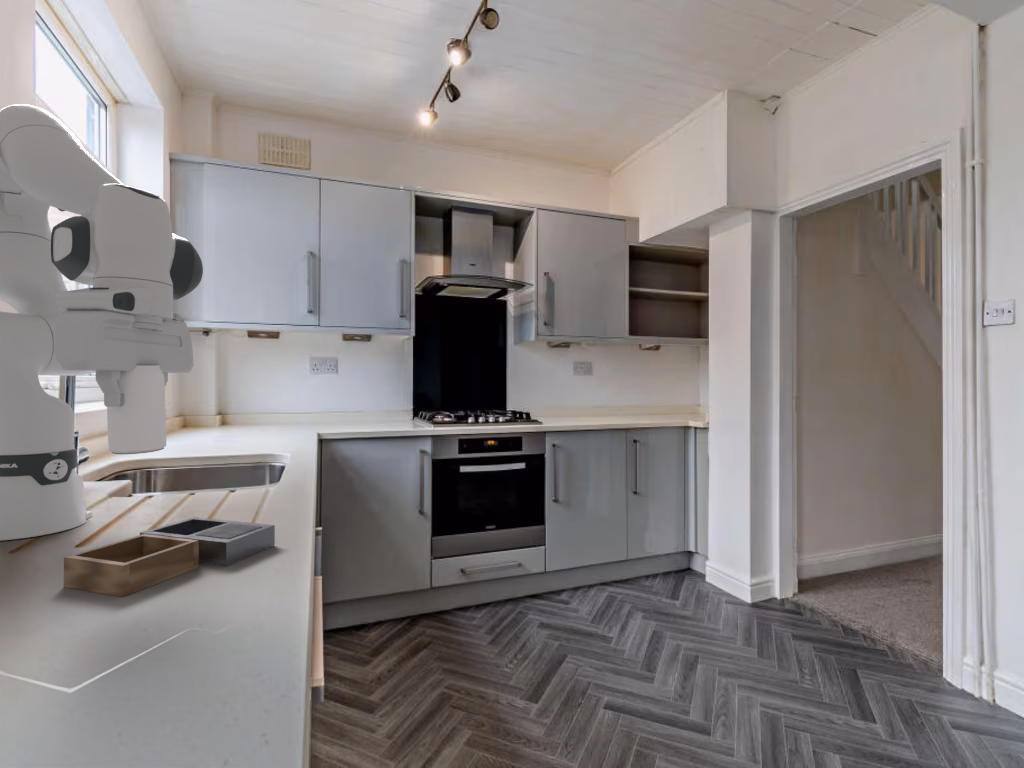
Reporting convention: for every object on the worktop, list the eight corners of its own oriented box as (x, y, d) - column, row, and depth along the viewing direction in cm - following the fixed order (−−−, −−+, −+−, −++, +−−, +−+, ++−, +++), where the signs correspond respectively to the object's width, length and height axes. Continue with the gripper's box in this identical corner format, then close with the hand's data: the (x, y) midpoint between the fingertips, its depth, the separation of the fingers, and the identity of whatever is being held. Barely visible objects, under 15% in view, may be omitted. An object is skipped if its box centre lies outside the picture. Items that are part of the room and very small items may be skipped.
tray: (139, 555, 78) (139, 531, 78) (194, 537, 87) (194, 516, 87) (226, 566, 73) (226, 542, 73) (274, 546, 82) (274, 524, 82)
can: (136, 455, 66) (133, 364, 65) (95, 453, 67) (92, 364, 67) (178, 447, 72) (175, 364, 72) (140, 445, 74) (137, 363, 73)
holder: (63, 586, 66) (63, 557, 66) (144, 559, 76) (144, 533, 76) (122, 597, 62) (122, 565, 62) (198, 567, 73) (198, 540, 73)
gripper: (165, 315, 80) (165, 402, 80) (42, 291, 59) (42, 409, 59) (204, 315, 79) (204, 402, 80) (95, 291, 59) (94, 409, 59)
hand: (134, 405), depth 69 cm, fingers closed on can, 5 cm apart
